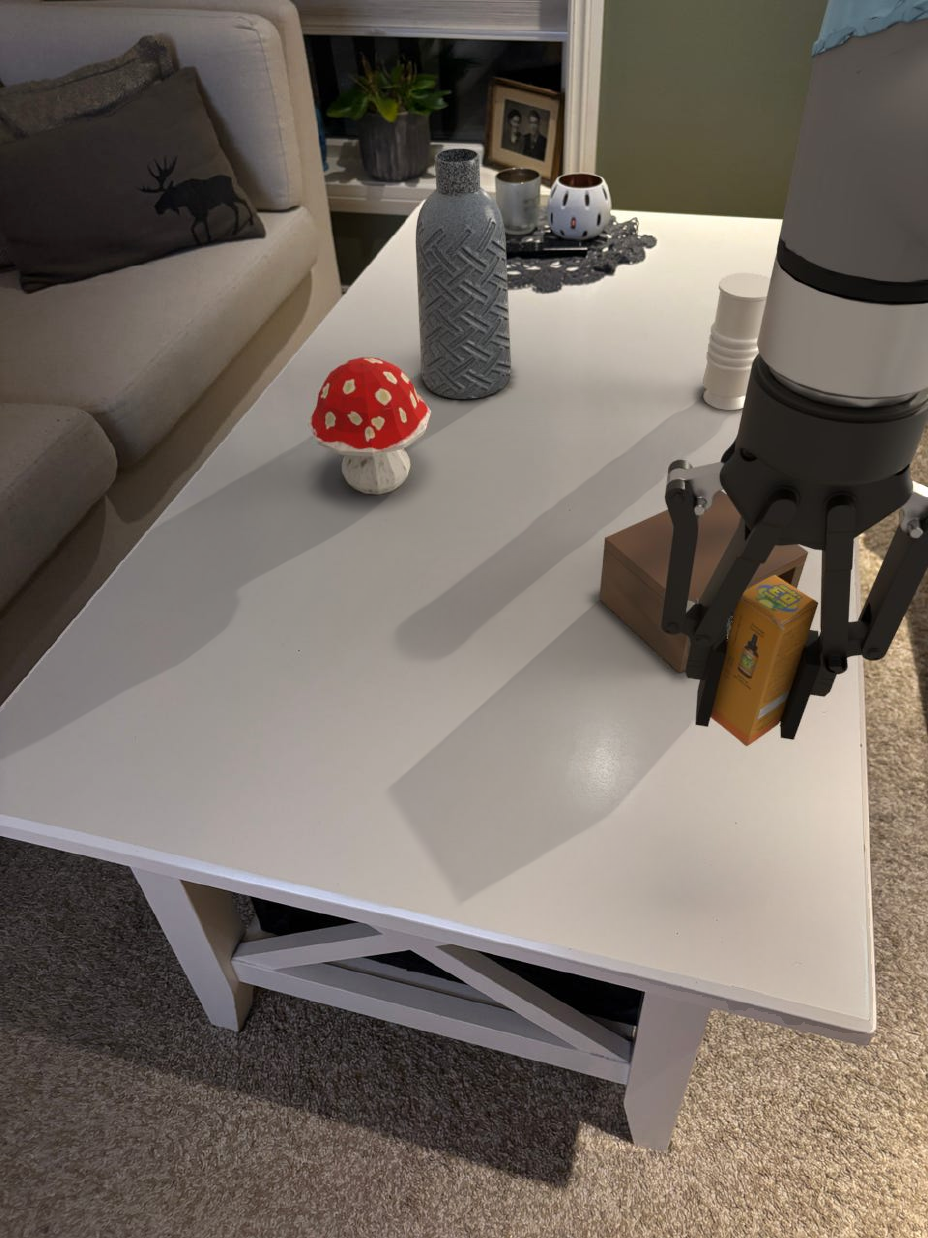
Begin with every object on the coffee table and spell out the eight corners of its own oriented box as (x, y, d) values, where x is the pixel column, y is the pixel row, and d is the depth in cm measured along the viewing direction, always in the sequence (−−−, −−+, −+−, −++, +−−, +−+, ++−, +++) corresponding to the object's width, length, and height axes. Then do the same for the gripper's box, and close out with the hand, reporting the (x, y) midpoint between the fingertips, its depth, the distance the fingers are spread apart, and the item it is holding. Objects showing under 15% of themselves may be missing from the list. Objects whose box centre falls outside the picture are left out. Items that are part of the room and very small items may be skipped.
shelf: (789, 614, 85) (808, 551, 80) (679, 673, 80) (691, 611, 75) (704, 548, 93) (716, 487, 87) (598, 599, 88) (604, 537, 82)
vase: (414, 399, 116) (393, 172, 97) (431, 354, 125) (415, 138, 105) (505, 403, 115) (502, 174, 95) (515, 357, 123) (515, 138, 103)
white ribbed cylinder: (750, 384, 116) (773, 272, 105) (757, 412, 111) (783, 297, 100) (697, 383, 116) (715, 272, 106) (702, 411, 111) (721, 297, 101)
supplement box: (785, 722, 53) (825, 602, 46) (745, 750, 52) (780, 631, 45) (743, 689, 55) (775, 569, 48) (704, 715, 54) (731, 595, 47)
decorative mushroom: (441, 508, 99) (433, 390, 89) (319, 521, 99) (296, 404, 88) (430, 440, 109) (421, 327, 99) (319, 452, 108) (298, 339, 98)
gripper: (1051, 335, 38) (889, 690, 54) (645, 309, 41) (608, 651, 57) (1098, 430, 33) (903, 790, 49) (630, 391, 36) (594, 741, 52)
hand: (744, 714), depth 53 cm, fingers closed on supplement box, 4 cm apart
